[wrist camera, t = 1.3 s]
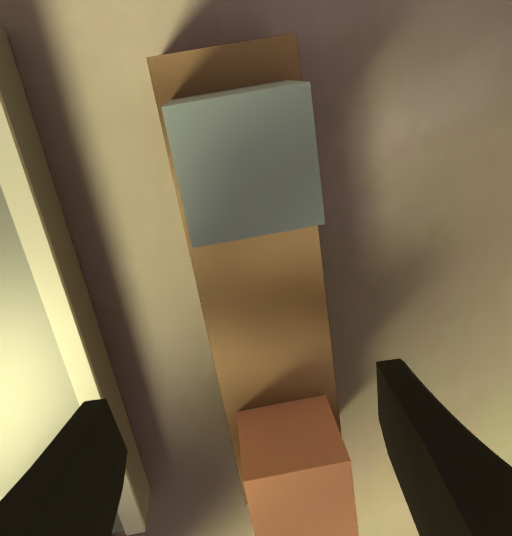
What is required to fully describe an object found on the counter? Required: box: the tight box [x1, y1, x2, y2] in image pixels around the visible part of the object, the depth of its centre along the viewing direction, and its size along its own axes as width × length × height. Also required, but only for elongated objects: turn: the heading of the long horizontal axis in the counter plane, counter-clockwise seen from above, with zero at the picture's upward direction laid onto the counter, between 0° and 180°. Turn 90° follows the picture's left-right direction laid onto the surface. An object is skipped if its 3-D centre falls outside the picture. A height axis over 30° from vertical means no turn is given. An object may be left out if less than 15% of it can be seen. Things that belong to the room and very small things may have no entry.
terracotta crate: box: [237, 395, 359, 536], centre depth 21 cm, size 4×4×4 cm
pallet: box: [146, 33, 342, 505], centre depth 22 cm, size 20×5×4 cm, turn 9°
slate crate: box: [161, 80, 325, 248], centre depth 16 cm, size 4×4×4 cm
